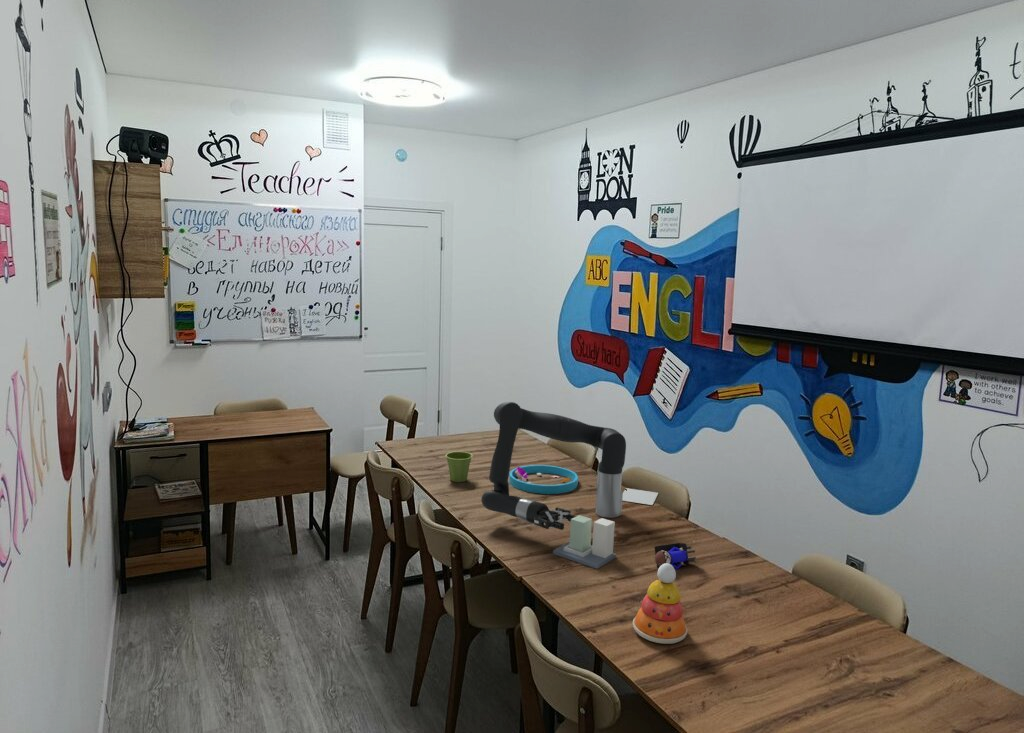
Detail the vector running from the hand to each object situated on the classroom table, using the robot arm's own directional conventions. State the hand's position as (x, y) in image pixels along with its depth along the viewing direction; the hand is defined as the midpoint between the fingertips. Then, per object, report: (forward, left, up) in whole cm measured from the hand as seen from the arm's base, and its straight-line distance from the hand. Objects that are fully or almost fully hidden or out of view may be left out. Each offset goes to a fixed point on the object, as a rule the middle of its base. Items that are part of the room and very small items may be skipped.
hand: (570, 523), depth 236 cm
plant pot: (+13, -82, -10) cm, 84 cm away
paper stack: (-52, -47, -10) cm, 71 cm away
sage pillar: (-2, +3, -8) cm, 9 cm away
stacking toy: (+1, +55, -10) cm, 56 cm away
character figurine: (-27, +21, -10) cm, 36 cm away
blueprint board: (-3, +5, -10) cm, 11 cm away
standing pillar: (-8, +8, -8) cm, 14 cm away
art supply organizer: (-22, -69, -10) cm, 73 cm away
